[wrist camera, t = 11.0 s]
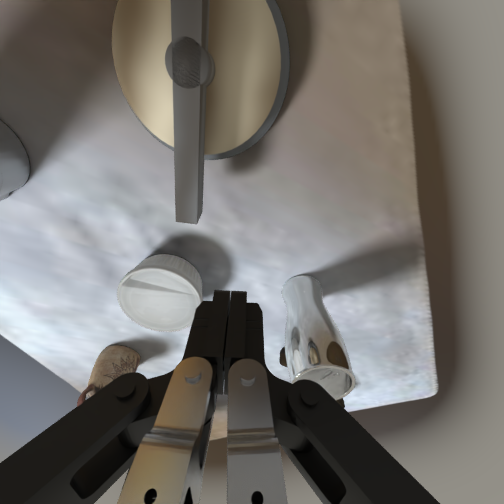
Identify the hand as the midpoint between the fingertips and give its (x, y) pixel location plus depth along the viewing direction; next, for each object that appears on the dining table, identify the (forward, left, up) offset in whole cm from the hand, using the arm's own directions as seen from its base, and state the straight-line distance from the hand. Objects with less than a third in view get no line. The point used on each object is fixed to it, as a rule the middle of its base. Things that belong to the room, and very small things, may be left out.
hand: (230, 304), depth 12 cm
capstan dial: (+6, +9, -20) cm, 22 cm away
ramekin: (-19, 0, -22) cm, 29 cm away
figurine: (-41, -1, -22) cm, 46 cm away
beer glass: (-9, -17, -22) cm, 29 cm away
